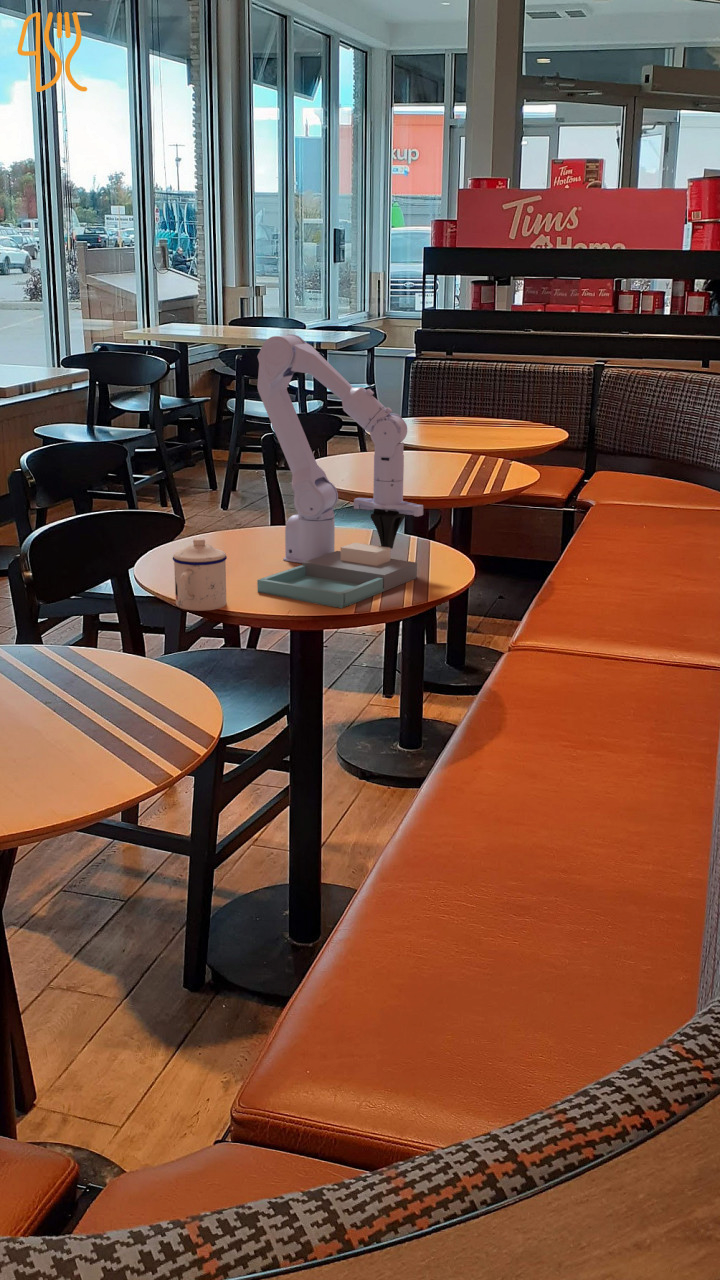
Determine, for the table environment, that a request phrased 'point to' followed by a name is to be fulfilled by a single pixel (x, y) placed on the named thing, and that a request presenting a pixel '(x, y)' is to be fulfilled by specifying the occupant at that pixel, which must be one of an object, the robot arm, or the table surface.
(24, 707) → the table surface
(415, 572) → the bench plate
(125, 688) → the table surface
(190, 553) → the teacup with lid
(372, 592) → the tray
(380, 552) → the cream tile
